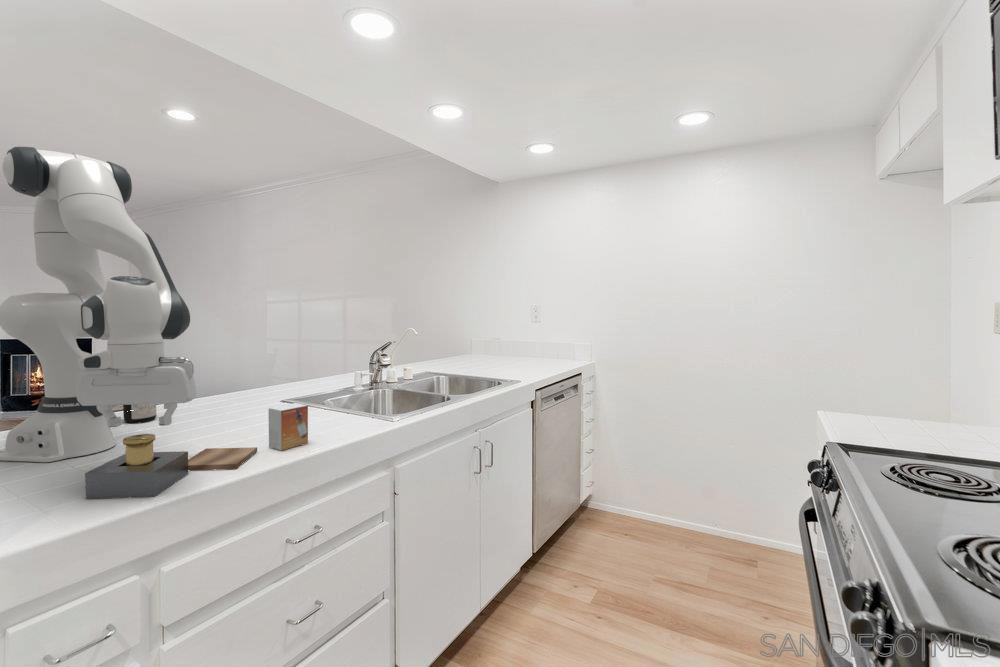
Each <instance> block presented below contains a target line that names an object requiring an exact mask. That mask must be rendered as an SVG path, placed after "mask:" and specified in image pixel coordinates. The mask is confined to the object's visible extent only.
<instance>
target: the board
mask: <svg viewBox="0 0 1000 667" xmlns="http://www.w3.org/2000/svg"><path fill="white" fill-rule="evenodd" d="M256 452H257V453H258V447H257V446H255V447H220V448H219V447H217V448H215V447H212V448H211V447H209V448H207V447H206V448H205V449H203V450H201V451H199V452H198V453H197V454H195V455H193V456H192V457H190V458H188V470H190V471H214V469H227V470H237V469H238V467H239V466H240V465H241V464H242V463H243V462H245V461H246V460H247V459H248V460H250V459H251V458H252V457H253V456H255V455H256V454H257V453H256ZM255 453H256V454H255ZM252 455H253V456H252ZM251 456H252V457H251ZM250 457H251V458H250ZM249 458H250V459H249ZM248 460H247V461H248ZM247 461H246V462H247ZM246 462H245V463H246ZM243 464H244V463H243ZM243 464H242V465H243ZM242 465H241V466H242ZM241 466H240V467H241ZM240 467H239V468H240ZM236 468H237V469H236Z"/></svg>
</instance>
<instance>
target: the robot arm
mask: <svg viewBox="0 0 1000 667" xmlns="http://www.w3.org/2000/svg"><path fill="white" fill-rule="evenodd" d="M2 172H3V176H4V178H5V180H6V181H7V184H8V186H9V187H11V189H12V190H14V192H16V193H20V194H22V195H25V196H29V197H34V198H35V197H36V200H35V205H34V212H33V233H34V234H33V237H34V248H35V260H36V265H37V266H38V268H39V269H40V270H41V271H42V272H43V273H44V274H46V275H48V276H50V277H52V278H55V279H58V280H59V281H60V282H61V283H62V284H64V286H65V288H66V289H67V291H68V292H65V293H64V292H59V293H58V292H32V293H23V294H17V295H11V296H9V297H7V298H6V299H4V300H3V302H1V303H0V328H1V330H3V331H4V333H5V334H7V335H9V336H10V337H11V338H14V339H16V340H18V341H20V342H21V343H23V344H24V345H26V346H27V347H28V348H30V350H31V351H32V352H33V353H34V355H36V357H37V359H38V360H39V363H40V365H41V371H42V378H43V385H44V386H43V387H44V396H42V397H41V398H39V399H35V400H31V402H32V404H31V406H37V405H38V407H37V409H36V412H35V413H33V414H32V415H30V416H29V417H28V418H26V419H24V420H23V421H22V422H20V423H19V424H17V425H16V426H14V427H13V428H11V429H10V430H9V431H8V433H7V435H6V438H5V444H4V445H5V446H4V447H5V448H2V449H1V450H0V461H5V462H6V461H7V462H8V461H10V462H29V463H30V462H31V463H49V462H51V463H52V462H55V461H56V462H57V461H61V460H64V459H69V458H75V457H76V458H77V457H81V456H88V455H92V454H96V453H100V452H103V451H105V450H108V449H111V448H113V447H115V446H116V445H117V442H116V441H115V438H114V436H113V433H112V430H111V428H117V427H121V426H122V422H121V421H122V416H117V415H116V413H115V412H114V409H115V408H116V406H123V405H133V404H156V405H163V409H164V410H166V411H165V413H164V414H163V415H162V416H159V417H158V425H159V426H161V427H162V426H163V427H164V426H166V427H167V426H169V425H171V424H172V422H173V421H172V419H173V418H172V416H173V414H174V413H175V411H176V409H177V408H178V404H185V403H189V402H191V401H193V400H194V399H195V398H196V397H197V389H196V382H195V378H194V371H195V370H194V367H195V366H194V363H193V362H192V361H191V360H190V359H187V358H186V357H184V356H178V357H174V356H173V357H171V356H165V351H164V349H165V347H164V340H174V339H177V338H179V337H180V336H181V335H182V334H183V333H184V332H185V331H186V330H187V329H188V328H189V327H190V324H191V314H190V310H189V307H188V306H187V303H186V302H185V301H184V299H183V297H182V296H181V294H180V293H179V292H178V290H177V288H176V285H175V284H174V281H173V279H172V277H171V275H170V273H169V271H168V268H167V266H166V264H165V261H164V260H163V257H162V256H161V253H160V252H159V249H158V247H157V246H156V244H155V242H154V240H153V238H152V237H151V235H149V233H147V232H145V231H144V230H142V229H141V228H140V227H138V225H137V224H136V223H135V222H134V221H133V220H132V218H131V217H130V215H129V214H128V212H127V210H126V206H125V204H127V203H128V202H129V201H130V199H131V196H132V193H133V182H132V179H131V175H130V173H129V172H128V171H127V169H126V168H125V167H124V166H121V165H119V164H116V163H114V162H111V161H108V160H107V161H105V160H104V161H103V160H100V159H97V158H93V157H88V156H85V155H81V154H76V153H68V152H67V153H66V152H62V151H57V150H56V151H54V150H46V149H38V148H37V149H36V148H35V147H32V146H14V147H12V148H10V149H8V151H7V152H6V155H5V156H4V158H3V161H2ZM98 250H99V251H102V252H104V253H105V252H106V253H108V254H112V255H113V256H116V257H118V258H121V259H124V260H125V261H127V262H129V263H130V264H132V265H134V267H136V269H138V271H139V273H140V275H141V277H138V276H130V275H128V276H127V275H126V276H125V275H124V276H123V275H120V276H113V277H111V278H108V280H107V278H106V277H105V276H104V274H103V272H102V268H101V264H100V258H99V254H98ZM78 338H79V339H81V338H82V339H85V338H93V339H96V340H102V341H103V340H104V341H107V342H106V343H107V344H106V346H107V347H106V349H107V350H104V351H100V352H98V353H94V354H92V353H90V352H87V351H84V350H82V349H81V348H80V347H79V345H78V342H77V339H78ZM33 402H34V403H33Z"/></svg>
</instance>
